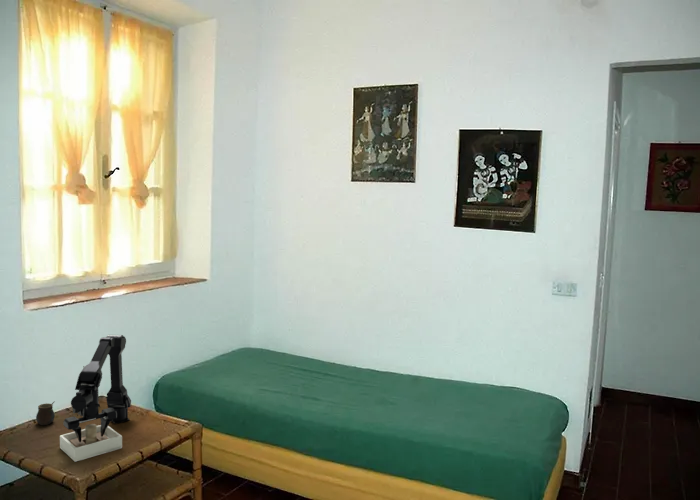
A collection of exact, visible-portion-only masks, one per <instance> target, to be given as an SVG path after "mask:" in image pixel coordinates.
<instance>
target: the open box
mask: <svg viewBox="0 0 700 500" xmlns="http://www.w3.org/2000/svg"><path fill="white" fill-rule="evenodd" d="M96 429H97V433H98V432H101V424H100V425H99V424H98V425H96ZM104 435H105V436H106V437H108V438H109V439H106V440H103V441H99V442H95V443H92V444H88V445H84V446H81V447H77V448H76V447H75V446H74V445H73V444H71V443H70V440H71V439H75V438H77V436H76V433H75V431H72V432H68V433H64V434H61V435H59V448H60V449H61V451H63V452H64V453H65V454H66V455H67V456H68V457H69V458H70V459H71V460H72V461H74V462H79V461H83V460H86V459H90V458H92V457H96V456H99V455H103V454H107V453H111V452H114V451H117V450H120V449H123V435H122V434H120V433H119V432H117V431H116V430H115V429H113V428H112V427H111V426H109V425H108V427H107V429H106V431H105V433H104ZM83 436H85V428H84V429H81V437H83Z"/></svg>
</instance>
